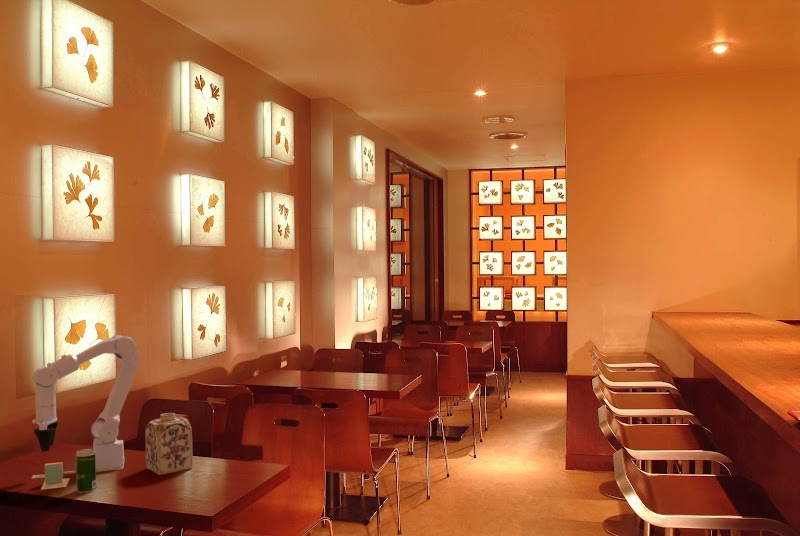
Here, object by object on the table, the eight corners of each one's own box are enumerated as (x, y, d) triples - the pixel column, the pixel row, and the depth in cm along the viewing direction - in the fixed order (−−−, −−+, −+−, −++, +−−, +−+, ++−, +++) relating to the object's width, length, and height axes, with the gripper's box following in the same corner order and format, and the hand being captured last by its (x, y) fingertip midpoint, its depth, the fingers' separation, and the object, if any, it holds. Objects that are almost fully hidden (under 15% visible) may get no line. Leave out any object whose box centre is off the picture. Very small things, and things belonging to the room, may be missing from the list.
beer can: (98, 488, 217) (97, 448, 217) (93, 493, 211) (91, 452, 211) (80, 489, 216) (79, 449, 216) (74, 494, 211) (72, 453, 211)
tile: (45, 483, 222) (45, 463, 222) (62, 481, 224) (62, 462, 224) (45, 484, 220) (44, 465, 220) (62, 483, 222) (61, 463, 222)
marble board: (69, 478, 227) (69, 478, 227) (66, 487, 218) (66, 486, 218) (45, 481, 225) (45, 480, 225) (40, 490, 216) (40, 489, 216)
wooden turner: (75, 472, 234) (75, 469, 234) (74, 475, 231) (74, 472, 231) (33, 477, 230) (33, 474, 230) (31, 480, 227) (31, 477, 227)
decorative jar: (158, 476, 228) (156, 419, 228) (145, 468, 237) (143, 414, 237) (194, 468, 236) (192, 413, 235) (180, 461, 245) (178, 408, 244)
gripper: (35, 402, 233) (37, 444, 233) (27, 410, 219) (29, 455, 219) (59, 400, 235) (61, 441, 235) (53, 408, 221) (54, 452, 221)
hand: (47, 448), depth 227 cm, fingers open, 7 cm apart
